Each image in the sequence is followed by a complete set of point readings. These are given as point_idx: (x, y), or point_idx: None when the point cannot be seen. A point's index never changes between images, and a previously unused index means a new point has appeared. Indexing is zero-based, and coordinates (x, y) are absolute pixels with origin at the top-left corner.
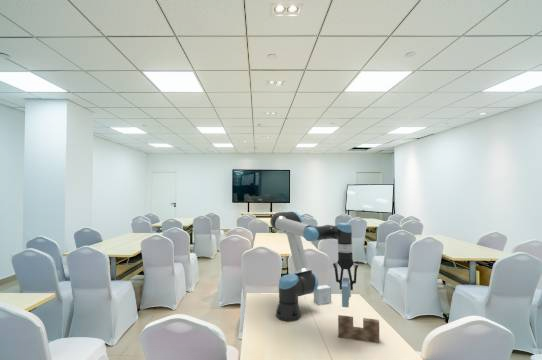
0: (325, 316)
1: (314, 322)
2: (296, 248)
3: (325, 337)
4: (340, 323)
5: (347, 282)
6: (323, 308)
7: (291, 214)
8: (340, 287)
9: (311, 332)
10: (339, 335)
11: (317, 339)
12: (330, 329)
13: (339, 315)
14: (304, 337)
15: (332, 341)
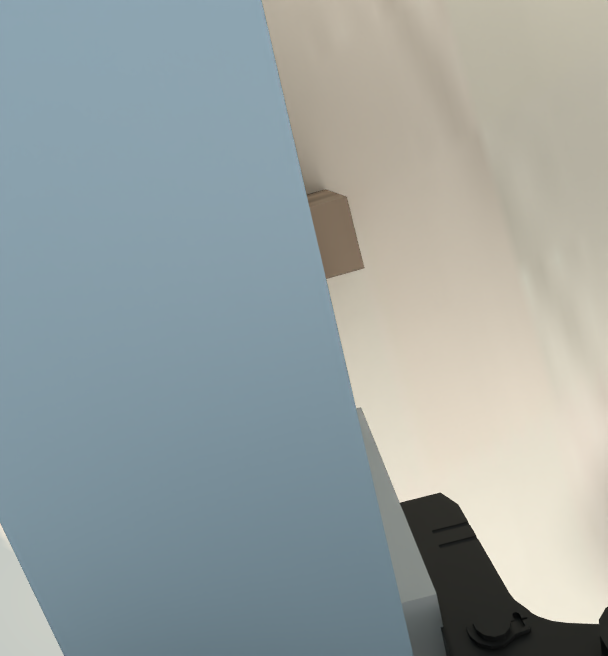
0: (526, 486)
1: (587, 334)
2: None
3: (424, 122)
4: (313, 201)
5: (5, 403)
6: (579, 609)
7: None
8: (446, 529)
9: (564, 141)
10: (316, 192)
11: (479, 43)
12: (424, 288)
13: (347, 261)
14: (599, 11)
15: (348, 85)
